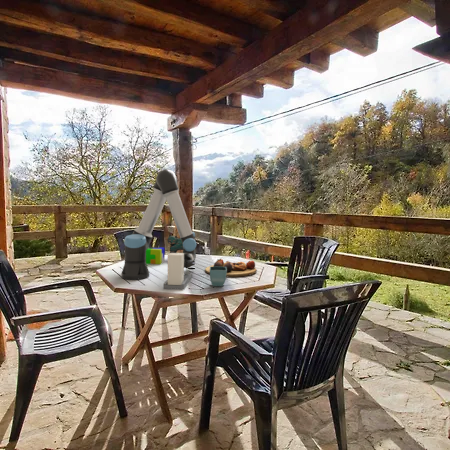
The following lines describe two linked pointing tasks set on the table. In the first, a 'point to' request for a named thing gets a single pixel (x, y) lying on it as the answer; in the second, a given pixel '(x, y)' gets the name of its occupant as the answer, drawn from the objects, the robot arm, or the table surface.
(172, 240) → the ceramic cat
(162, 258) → the puzzle toy
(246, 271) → the wooden plate with food
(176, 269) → the cream block
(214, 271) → the flower pot
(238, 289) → the table surface
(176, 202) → the robot arm
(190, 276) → the grey chute
